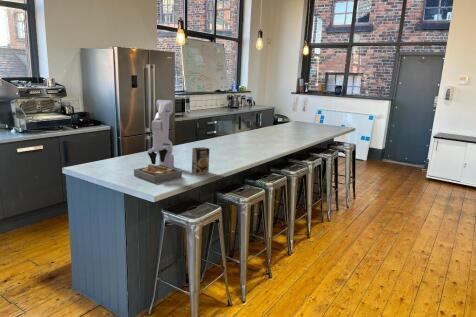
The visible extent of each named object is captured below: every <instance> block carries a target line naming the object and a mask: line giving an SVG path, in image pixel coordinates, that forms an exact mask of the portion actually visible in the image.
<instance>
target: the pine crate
mask: <svg viewBox="0 0 476 317" xmlns="http://www.w3.org/2000/svg"><path fill="white" fill-rule="evenodd" d="M147 167H148V168H146V169H143V170H141V171H142V172H145V173H148V174H150V175H153V176H156V175H161V174H166V173H171V172H173V169H170V168H166V167H161V166H156V164H155V165H154V164H152V163H151V164H150V163H149V164H147Z"/></svg>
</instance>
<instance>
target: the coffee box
mask: <svg viewBox="0 0 476 317" xmlns="http://www.w3.org/2000/svg"><path fill="white" fill-rule="evenodd" d="M191 151H192V153H191V154H192V156H191V157H192V158H191V173H192V174H194V175H195V176H199V175H200V174H201V175H207V173H208V174H210V172H209V171H210V169H209V168H210V148H208V147H205V146H204V147H203V146H202V147H192V150H191Z"/></svg>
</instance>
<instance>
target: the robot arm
mask: <svg viewBox="0 0 476 317" xmlns="http://www.w3.org/2000/svg"><path fill="white" fill-rule="evenodd" d="M156 109H157V111H158V112H156V113H155V116H154V119H153V120H151V132H152V147H151V148H149V149H148V150H147V155H148V156H149V159H150V162H151V165H156V162H157V156H158V165H165V166H168V167H171V168H174V169H175V156H174V154H173V142H172V141H171V140H170V139H169V133H170V132H169V127H170V115H171V114H173V111H174V101H173V100H172V99H157V100H156Z"/></svg>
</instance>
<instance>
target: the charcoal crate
mask: <svg viewBox="0 0 476 317" xmlns="http://www.w3.org/2000/svg"><path fill="white" fill-rule="evenodd" d="M155 165H156V164H155ZM156 166H161V167H166V168H170V169H173V172H171V173H166V174H161V175H156V176H153V175H150V174H148V173H145V172H142V171H141V170H143V169H146V168H148V166H146V167H140V168H134V169H133V176H134V177H136V178H138V179H142V180H143V181H144V180H145V181H146V182H149V183H152V184H157V183H162V182H167V181H171V180H175V179H181V178H182V177H183V173H182V172H183V170H180V169H176V168H175V167H174V168H171V167H168V166H165V165H159V164H157V165H156Z"/></svg>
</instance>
